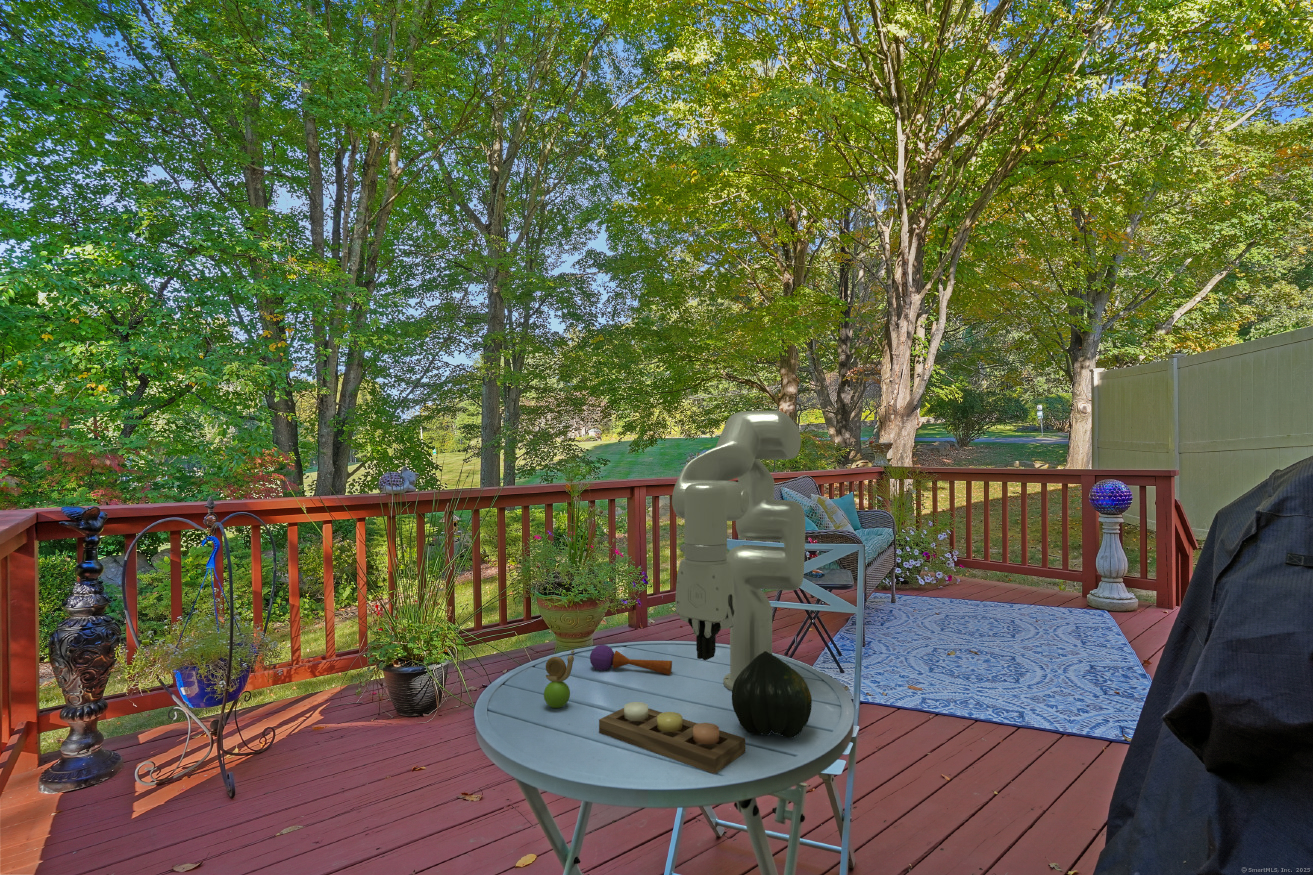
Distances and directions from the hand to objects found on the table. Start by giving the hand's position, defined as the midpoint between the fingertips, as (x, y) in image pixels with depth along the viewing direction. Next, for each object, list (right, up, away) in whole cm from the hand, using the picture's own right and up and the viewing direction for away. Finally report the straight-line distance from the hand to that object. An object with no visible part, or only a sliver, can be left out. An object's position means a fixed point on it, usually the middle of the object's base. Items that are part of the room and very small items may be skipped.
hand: (705, 657), depth 116 cm
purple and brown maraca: (-15, -18, +44) cm, 50 cm away
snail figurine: (-29, -18, +21) cm, 40 cm away
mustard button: (-6, -14, +5) cm, 16 cm away
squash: (+13, -17, +10) cm, 24 cm away
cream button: (-13, -14, +10) cm, 21 cm away
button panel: (-6, -17, +5) cm, 19 cm away
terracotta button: (0, -14, 0) cm, 14 cm away
